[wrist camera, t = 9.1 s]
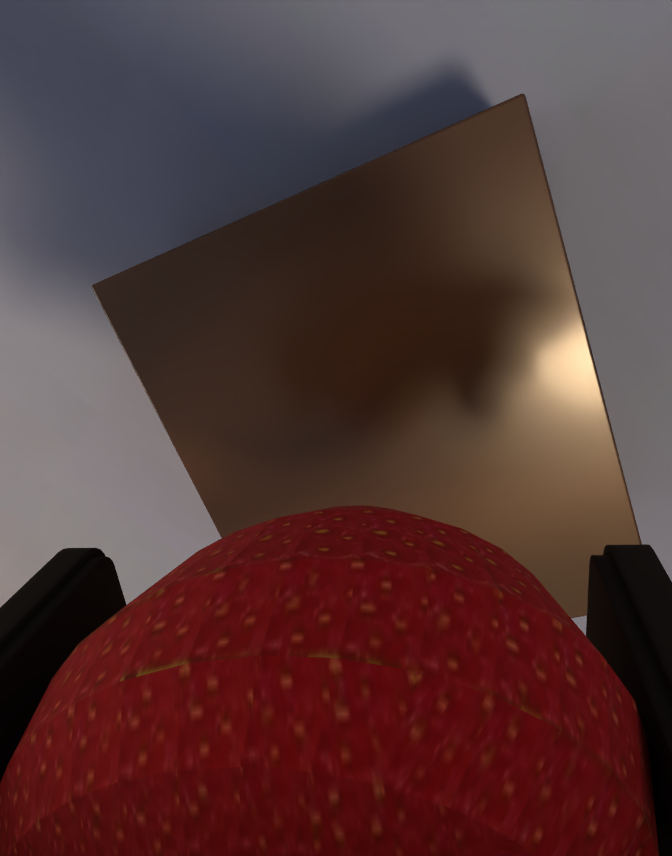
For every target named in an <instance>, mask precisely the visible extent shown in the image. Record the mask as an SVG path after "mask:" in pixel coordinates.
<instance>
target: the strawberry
mask: <svg viewBox="0 0 672 856" xmlns="http://www.w3.org/2000/svg"><path fill="white" fill-rule="evenodd" d="M0 856H659V849H658V838H657V827H656V817H655V806H654V796H653V785H652V774H651V764H650V755H649V749H648V743H647V738H646V734H645V731H644V728H643V724H642V721H641V718H640V715H639V712H638V709H637V705H636V702H635V700H634V699H633V697H632V696H631V694H630V693H629V692H628V690H627V689H626V687H625V686H624V685H623V683H622V682H621V680H620V679H619V678H618V676H617V675H616V674H615V672H614V671H613V669H612V668H611V667H610V665H609V664H608V662H607V661H606V660H605V658H604V657H603V656H602V655H601V654H600V652H599V651H598V650H597V649H596V648H595V646H594V645H593V644H592V643H591V642H590V641H589V639H588V638H587V637H586V636H585V635H584V633H583V632H582V631H581V630H580V629H579V628H578V626H577V625H576V624H575V623H574V622H573V620H572V619H571V618H570V617H569V616H568V614H567V613H566V612H565V611H564V610H563V609H562V607H561V606H560V605H559V604H558V603H557V601H556V600H555V599H554V598H553V597H552V596H551V594H550V593H549V592H548V591H547V590H546V588H545V587H544V586H543V585H542V584H541V583H540V581H539V580H538V579H537V578H536V577H535V575H534V574H532V573H531V572H530V571H529V570H527V569H526V568H525V567H524V566H523V565H521V564H520V563H519V562H518V561H516V560H515V559H514V558H513V557H512V556H510V555H509V554H508V553H507V552H505V551H504V550H503V549H501V548H499V547H497V546H496V545H494V544H492V543H490V542H488V541H486V540H484V539H482V538H480V537H478V536H476V535H474V534H472V533H470V532H468V531H466V530H464V529H462V528H459V527H455V526H452V525H449V524H445V523H442V522H439V521H435V520H432V519H429V518H425V517H422V516H419V515H415V514H411V513H407V512H403V511H399V510H395V509H390V508H382V507H374V506H366V505H360V506H337V507H331V508H326V509H320V510H315V511H309V512H304V513H299V514H294V515H289V516H284V517H279V518H274V519H271V520H268V521H265V522H262V523H259V524H256V525H254V526H251V527H248V528H245V529H242V530H239V531H236V532H233V533H231V534H229V535H227V536H226V537H224V538H222V539H220V540H218V541H216V542H214V543H213V544H211V545H209V546H207V547H205V548H203V549H201V550H200V551H198V552H196V553H195V554H194V555H192V556H191V557H190V558H188V559H187V560H186V561H184V562H183V563H182V564H180V565H179V566H178V567H176V568H175V569H174V570H172V571H171V572H170V573H169V574H167V575H166V576H165V577H163V578H162V579H161V580H159V581H158V582H157V583H155V584H154V585H153V586H151V587H150V588H149V589H147V590H146V591H145V592H143V593H142V594H141V595H139V596H138V597H137V598H136V599H134V600H133V601H132V602H130V603H129V604H128V605H126V606H125V607H124V608H122V609H121V610H120V611H118V612H117V613H116V614H114V615H113V616H112V617H111V618H110V619H108V620H107V621H106V622H105V623H103V624H102V625H101V626H100V627H98V628H97V629H96V630H95V631H94V632H92V633H91V634H90V635H89V636H87V637H86V638H85V639H84V640H82V641H81V642H80V643H79V644H78V645H77V646H76V648H75V649H74V650H73V652H72V653H71V654H70V655H69V657H68V658H67V659H66V661H65V662H64V663H63V664H62V666H61V667H60V668H59V670H58V671H57V672H56V674H55V675H54V676H53V678H52V680H51V682H50V684H49V686H48V688H47V690H46V691H45V693H44V695H43V697H42V699H41V701H40V703H39V705H38V707H37V709H36V711H35V713H34V715H33V717H32V719H31V721H30V723H29V725H28V726H27V728H26V730H25V732H24V734H23V736H22V738H21V740H20V742H19V744H18V746H17V748H16V750H15V752H14V754H13V756H12V758H11V760H10V762H9V763H8V766H7V768H6V771H5V773H4V776H3V778H2V781H1V783H0Z"/></svg>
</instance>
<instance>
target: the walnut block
mask: <svg viewBox="0 0 672 856" xmlns="http://www.w3.org/2000/svg"><path fill="white" fill-rule="evenodd" d="M92 289H93V291H94V293H95V294H96V296H97V298H98V300H99V302H100V304H101V306H102V308H103V310H104V312H105V314H106V316H107V318H108V320H109V321H110V323H111V325H112V327H113V329H114V331H115V333H116V335H117V337H118V339H119V341H120V343H121V345H122V347H123V349H124V350H125V352H126V354H127V356H128V358H129V360H130V362H131V364H132V366H133V368H134V370H135V372H136V374H137V376H138V377H139V379H140V381H141V383H142V385H143V387H144V389H145V391H146V393H147V395H148V397H149V399H150V401H151V403H152V404H153V406H154V408H155V410H156V412H157V414H158V416H159V418H160V420H161V422H162V424H163V426H164V428H165V430H166V431H167V433H168V435H169V437H170V439H171V441H172V443H173V445H174V447H175V449H176V451H177V453H178V455H179V457H180V458H181V460H182V462H183V464H184V466H185V468H186V470H187V472H188V474H189V476H190V478H191V480H192V482H193V484H194V485H195V487H196V489H197V491H198V493H199V495H200V497H201V499H202V501H203V503H204V505H205V507H206V509H207V511H208V512H209V514H210V516H211V518H212V520H213V522H214V524H215V526H216V528H217V530H218V532H219V534H220V536H221V538H224V537H226V536H227V535H229V534H231V533H233V532H236V531H239V530H242V529H245V528H248V527H251V526H254V525H256V524H259V523H262V522H265V521H268V520H271V519H274V518H279V517H284V516H289V515H294V514H299V513H304V512H309V511H315V510H320V509H326V508H331V507H337V506H360V505H366V506H374V507H382V508H390V509H395V510H399V511H403V512H407V513H411V514H415V515H419V516H422V517H425V518H429V519H432V520H435V521H439V522H442V523H445V524H449V525H452V526H455V527H459V528H462V529H464V530H466V531H468V532H470V533H472V534H474V535H476V536H478V537H480V538H482V539H484V540H486V541H488V542H490V543H492V544H494V545H496V546H497V547H499V548H501V549H503V550H504V551H505V552H507V553H508V554H509V555H510V556H512V557H513V558H514V559H515V560H516V561H518V562H519V563H520V564H521V565H523V566H524V567H525V568H526V569H527V570H529V571H530V572H531V573H532V574H534V575H535V577H536V578H537V579H538V580H539V581H540V583H541V584H542V585H543V586H544V587H545V588H546V590H547V591H548V592H549V593H550V594H551V596H552V597H553V598H554V599H555V600H556V601H557V603H558V604H559V605H560V606H561V607H562V609H563V610H564V611H565V612H566V613H567V614H568V616H569V617H570V618H574V617H580V616H585V615H587V604H588V581H589V562H590V557H591V555H603V551H604V548H605V546H606V545H642V543H641V540H640V536H639V532H638V528H637V524H636V520H635V516H634V513H633V509H632V505H631V501H630V497H629V493H628V489H627V486H626V482H625V478H624V474H623V470H622V466H621V462H620V459H619V455H618V451H617V447H616V443H615V439H614V435H613V432H612V428H611V424H610V420H609V416H608V412H607V409H606V405H605V401H604V397H603V393H602V389H601V385H600V382H599V378H598V374H597V370H596V366H595V362H594V358H593V355H592V351H591V347H590V343H589V339H588V335H587V331H586V328H585V324H584V320H583V316H582V312H581V308H580V304H579V301H578V297H577V293H576V289H575V285H574V281H573V278H572V274H571V270H570V266H569V262H568V258H567V254H566V251H565V247H564V243H563V239H562V235H561V231H560V227H559V224H558V220H557V216H556V212H555V208H554V204H553V200H552V197H551V193H550V189H549V185H548V181H547V177H546V174H545V170H544V166H543V162H542V158H541V154H540V150H539V147H538V143H537V139H536V135H535V131H534V127H533V123H532V120H531V116H530V112H529V108H528V104H527V100H526V96H525V95H524V94H520V95H518V96H515V97H513V98H511V99H509V100H506V101H504V102H502V103H500V104H497V105H495V106H493V107H491V108H488V109H486V110H484V111H482V112H479V113H477V114H475V115H473V116H470V117H468V118H466V119H464V120H461V121H459V122H457V123H455V124H452V125H450V126H448V127H446V128H443V129H441V130H439V131H437V132H434V133H432V134H430V135H428V136H425V137H423V138H421V139H419V140H417V141H414V142H412V143H410V144H408V145H405V146H403V147H401V148H399V149H396V150H394V151H392V152H390V153H387V154H385V155H383V156H381V157H378V158H376V159H374V160H372V161H369V162H367V163H365V164H363V165H360V166H358V167H356V168H354V169H351V170H349V171H347V172H345V173H342V174H340V175H338V176H336V177H333V178H331V179H329V180H327V181H324V182H322V183H320V184H318V185H316V186H313V187H311V188H309V189H307V190H304V191H302V192H300V193H298V194H295V195H293V196H291V197H289V198H286V199H284V200H282V201H280V202H277V203H275V204H273V205H271V206H268V207H266V208H264V209H262V210H259V211H257V212H255V213H253V214H250V215H248V216H246V217H244V218H241V219H239V220H237V221H235V222H232V223H230V224H228V225H226V226H223V227H221V228H219V229H217V230H215V231H212V232H210V233H208V234H206V235H203V236H201V237H199V238H197V239H194V240H192V241H190V242H188V243H185V244H183V245H181V246H179V247H176V248H174V249H172V250H170V251H167V252H165V253H163V254H161V255H158V256H156V257H154V258H152V259H149V260H147V261H145V262H143V263H140V264H138V265H136V266H134V267H131V268H129V269H127V270H125V271H122V272H120V273H118V274H116V275H114V276H111V277H109V278H107V279H105V280H102V281H100V282H98V283H96V284H93V285H92Z"/></svg>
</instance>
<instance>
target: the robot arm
mask: <svg viewBox="0 0 672 856" xmlns="http://www.w3.org/2000/svg"><path fill="white" fill-rule="evenodd" d="M125 606H126V602H125V599H124V596H123V592H122V589H121V586H120V582H119V579H118V576H117V573H116V569H115V566H114V563H113V561H112V560H111V559H110V558H109V557H105V554H104V553H103V552H102V551H101V550H100V549H97V548H67V549H63V550H61V551H60V552H58V553H57V554H56V555H55V556H54V557H53V558H52V559H51V560H50V561H49V562H48V563H47V564H46V565H45V566H44V567H42V568H41V569H40V570H39V571H38V572H37V573H36V574H35V575H34V576H33V577H32V578H31V579H30V580H29V581H28V582H27V583H26V584H25V585H24V586H23V587H22V588H20V589H19V590H18V591H17V592H16V593H15V594H14V595H13V596H12V597H11V598H10V599H9V600H8V601H7V602H6V603H5V604H4V605H3V606H2V607H1V608H0V783H1V781H2V778H3V776H4V773H5V771H6V768H7V766H8V763H9V762H10V760H11V758H12V756H13V754H14V752H15V750H16V748H17V746H18V744H19V742H20V740H21V738H22V736H23V734H24V732H25V730H26V728H27V726H28V725H29V723H30V721H31V719H32V717H33V715H34V713H35V711H36V709H37V707H38V705H39V703H40V701H41V699H42V697H43V695H44V693H45V691H46V690H47V688H48V686H49V684H50V682H51V680H52V678H53V676H54V675H55V674H56V672H57V671H58V670H59V668H60V667H61V666H62V664H63V663H64V662H65V661H66V659H67V658H68V657H69V655H70V654H71V653H72V652H73V650H74V649H75V648H76V646H77V645H78V644H79V643H80V642H81V641H82V640H84V639H85V638H86V637H87V636H89V635H90V634H91V633H92V632H94V631H95V630H96V629H97V628H98V627H100V626H101V625H102V624H103V623H105V622H106V621H107V620H108V619H110V618H111V617H112V616H113V615H114V614H116V613H117V612H118V611H120V610H121V609H122V608H124V607H125ZM586 637H587V638H588V639H589V641H590V642H591V643H592V644H593V645H594V646H595V648H596V649H597V650H598V651H599V652H600V654H601V655H602V656H603V657H604V658H605V660H606V661H607V662H608V664H609V665H610V667H611V668H612V669H613V671H614V672H615V674H616V675H617V676H618V678H619V679H620V680H621V682H622V683H623V685H624V686H625V687H626V689H627V690H628V692H629V693H630V694H631V696H632V697H633V699H634V700H635V702H636V705H637V709H638V712H639V715H640V718H641V721H642V724H643V728H644V731H645V734H646V738H647V743H648V749H649V755H650V764H651V774H652V785H653V796H654V806H655V817H656V827H657V838H658V849H659V856H672V582H671V580H670V578H669V577H668V575H667V573H666V571H665V569H664V568H663V566H662V564H661V562H660V561H659V559H658V557H657V555H656V553H655V552H654V550H653V549H652V547H651V546H650V545H606V546H605V548H604V551H603V555H591V557H590V562H589V581H588V604H587V627H586Z"/></svg>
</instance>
